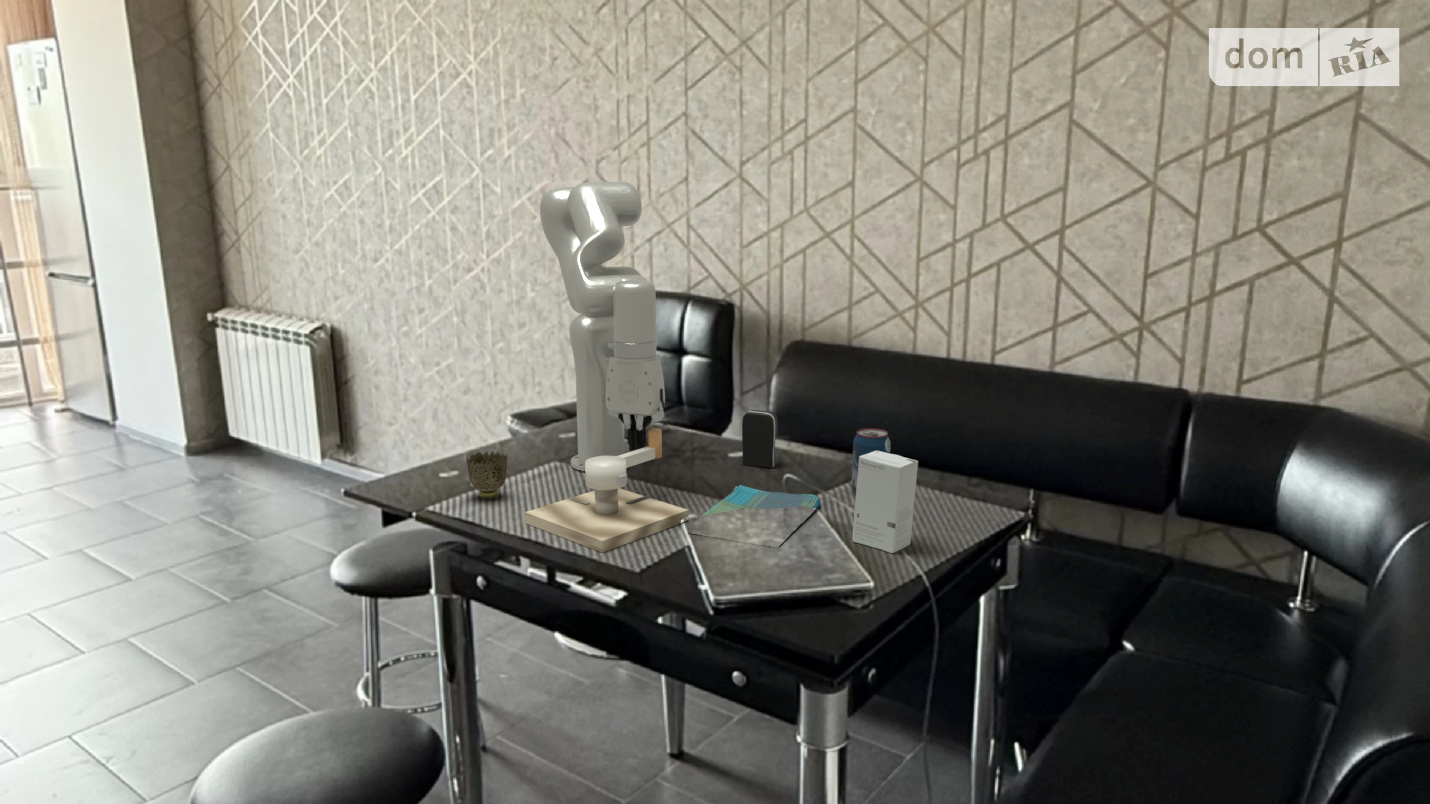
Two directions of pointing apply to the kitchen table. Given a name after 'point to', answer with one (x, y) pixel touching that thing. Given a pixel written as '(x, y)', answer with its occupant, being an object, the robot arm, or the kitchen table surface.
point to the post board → (606, 518)
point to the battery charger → (759, 438)
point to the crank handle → (620, 464)
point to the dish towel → (762, 500)
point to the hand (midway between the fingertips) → (637, 449)
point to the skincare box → (884, 501)
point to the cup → (487, 473)
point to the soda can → (868, 447)
